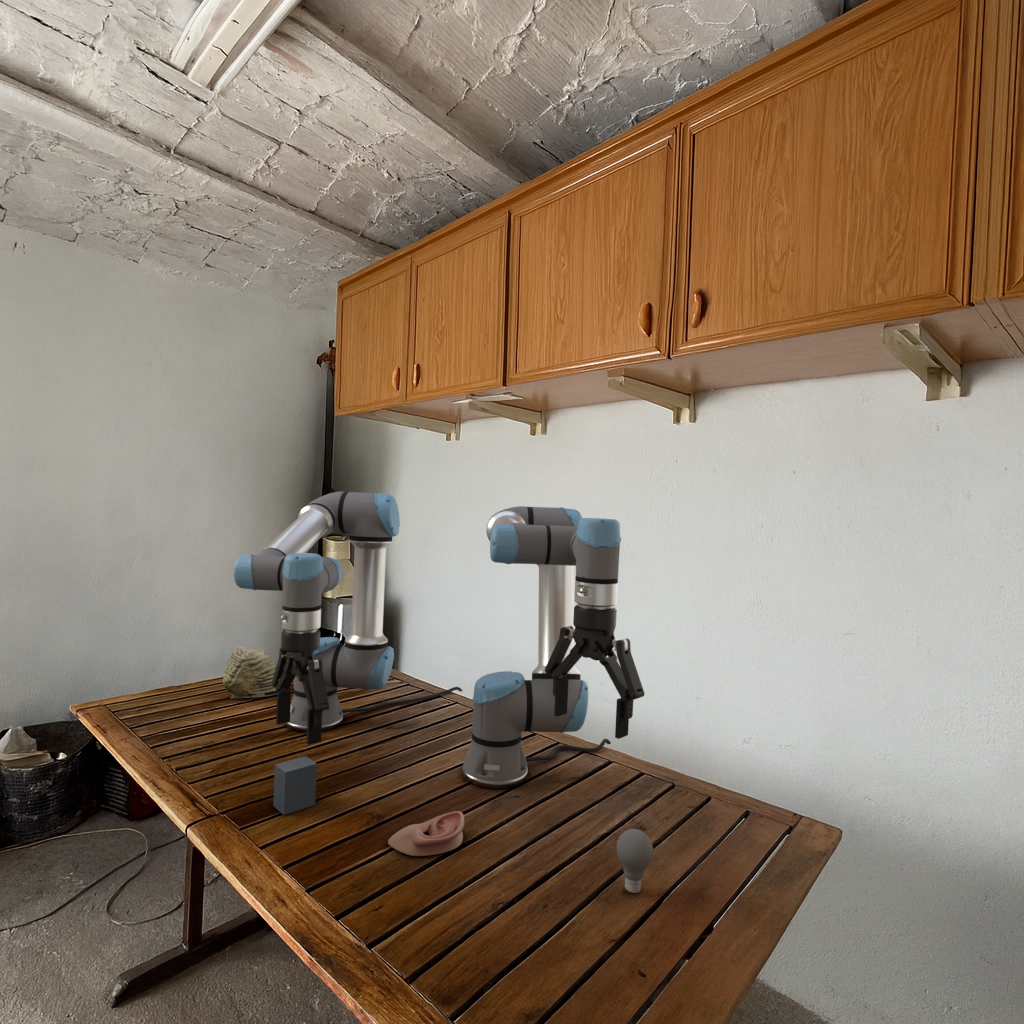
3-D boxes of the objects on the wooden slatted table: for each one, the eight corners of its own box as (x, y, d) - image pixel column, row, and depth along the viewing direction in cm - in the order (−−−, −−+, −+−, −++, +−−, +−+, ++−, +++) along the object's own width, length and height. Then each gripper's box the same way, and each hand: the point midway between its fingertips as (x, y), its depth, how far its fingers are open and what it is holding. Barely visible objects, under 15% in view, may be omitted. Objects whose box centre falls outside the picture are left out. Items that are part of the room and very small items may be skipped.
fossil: (218, 695, 195) (220, 647, 195) (278, 685, 208) (279, 640, 207) (228, 703, 189) (230, 653, 188) (289, 692, 201) (290, 645, 201)
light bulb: (610, 879, 108) (613, 822, 108) (644, 879, 109) (647, 822, 109) (619, 902, 102) (622, 840, 102) (655, 901, 103) (658, 840, 103)
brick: (273, 806, 129) (274, 764, 129) (304, 796, 134) (305, 755, 134) (283, 815, 125) (285, 772, 125) (315, 804, 130) (317, 763, 130)
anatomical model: (381, 829, 114) (405, 800, 125) (380, 851, 114) (404, 820, 125) (452, 840, 111) (469, 809, 122) (451, 862, 111) (469, 830, 123)
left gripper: (257, 620, 135) (254, 719, 136) (313, 644, 117) (309, 757, 118) (290, 617, 140) (287, 711, 141) (349, 639, 123) (345, 747, 123)
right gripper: (529, 597, 118) (524, 710, 118) (643, 619, 100) (637, 752, 101) (556, 594, 123) (551, 702, 124) (668, 614, 105) (662, 741, 106)
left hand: (297, 732), depth 130 cm, fingers open, 13 cm apart
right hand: (589, 725), depth 112 cm, fingers open, 13 cm apart
